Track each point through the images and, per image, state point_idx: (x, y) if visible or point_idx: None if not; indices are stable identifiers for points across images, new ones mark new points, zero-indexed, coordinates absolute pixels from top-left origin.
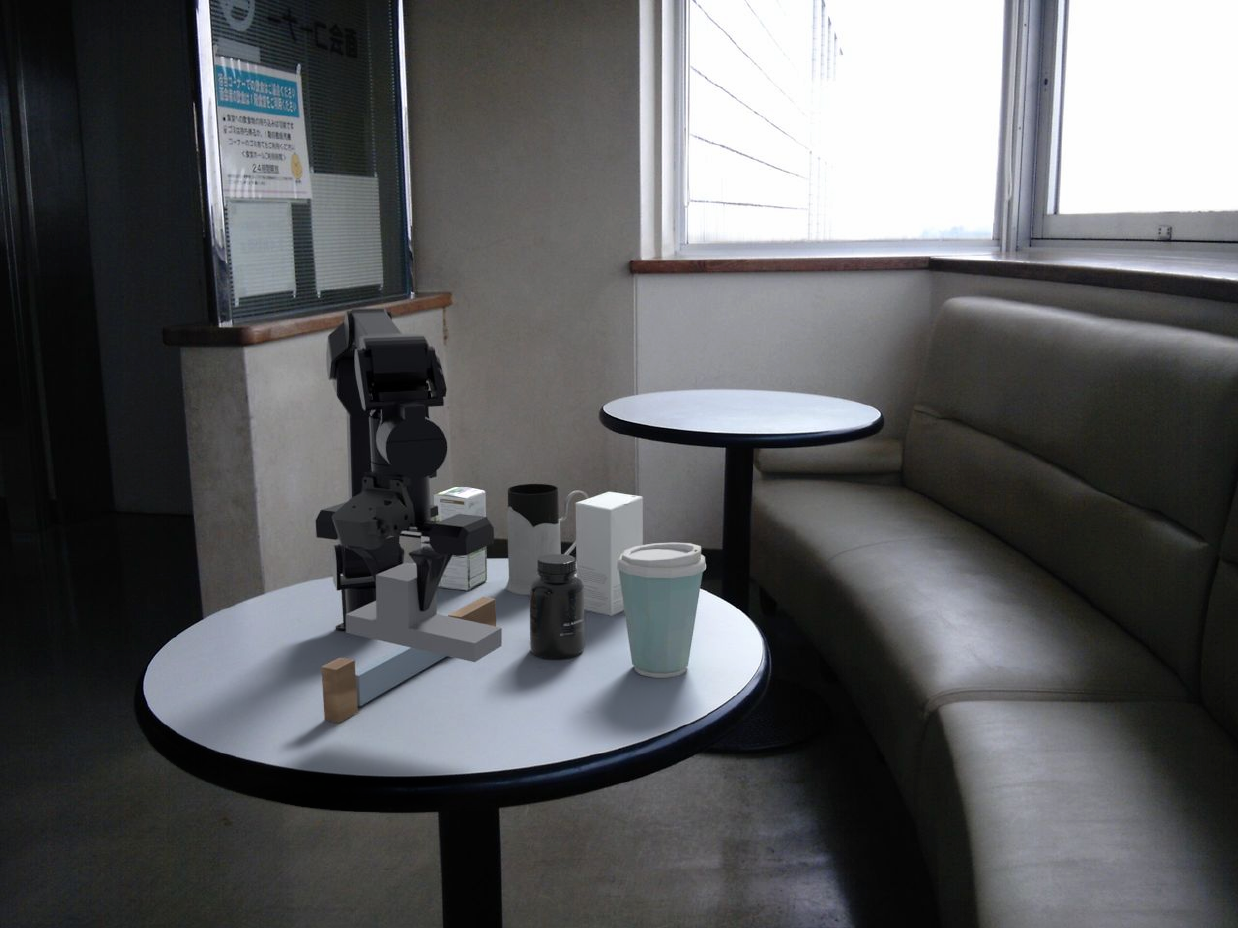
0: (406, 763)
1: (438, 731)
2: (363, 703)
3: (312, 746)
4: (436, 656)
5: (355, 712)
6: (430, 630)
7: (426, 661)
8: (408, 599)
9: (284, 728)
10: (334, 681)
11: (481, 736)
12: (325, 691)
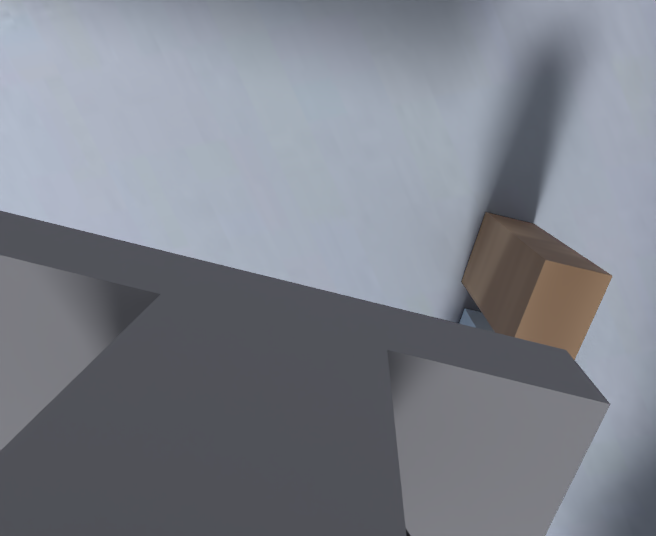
0: (197, 4)
1: (203, 214)
2: (461, 320)
3: (505, 56)
4: None
5: (465, 275)
6: (30, 297)
7: None
8: (61, 398)
9: (628, 153)
10: (537, 247)
11: (82, 206)
12: (559, 244)
